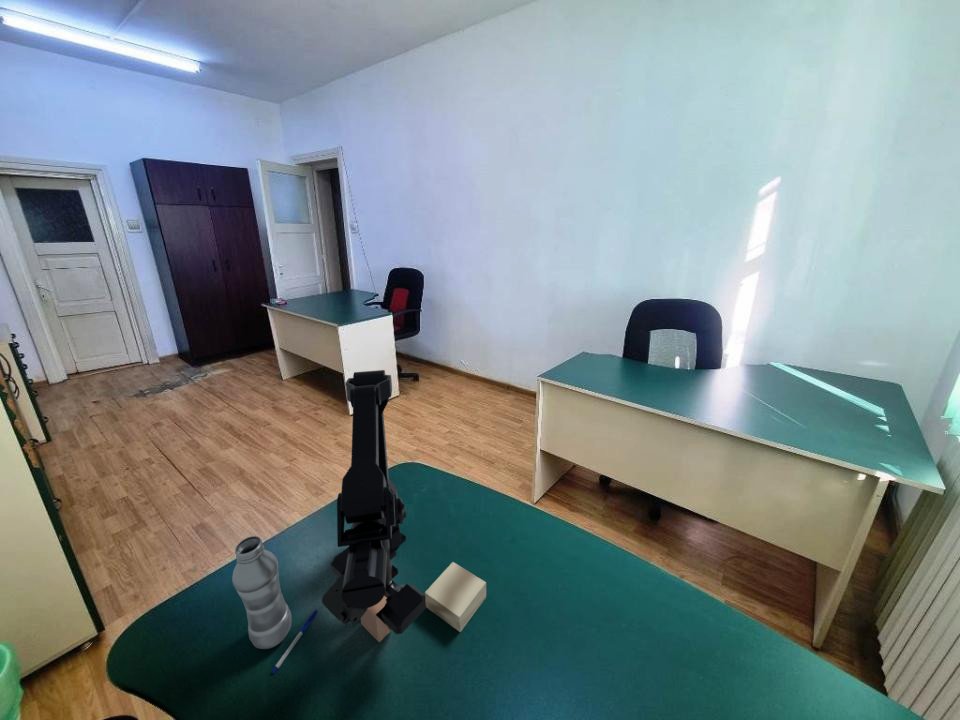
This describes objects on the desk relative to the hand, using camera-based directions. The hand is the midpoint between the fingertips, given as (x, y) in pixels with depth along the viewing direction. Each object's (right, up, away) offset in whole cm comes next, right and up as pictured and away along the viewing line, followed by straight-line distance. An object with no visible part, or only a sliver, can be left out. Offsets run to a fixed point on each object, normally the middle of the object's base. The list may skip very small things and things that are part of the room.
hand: (381, 617), depth 66 cm
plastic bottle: (-18, -2, -1) cm, 18 cm away
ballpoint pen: (-14, -3, -2) cm, 14 cm away
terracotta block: (0, -1, 0) cm, 1 cm away
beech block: (+13, 0, +4) cm, 14 cm away
